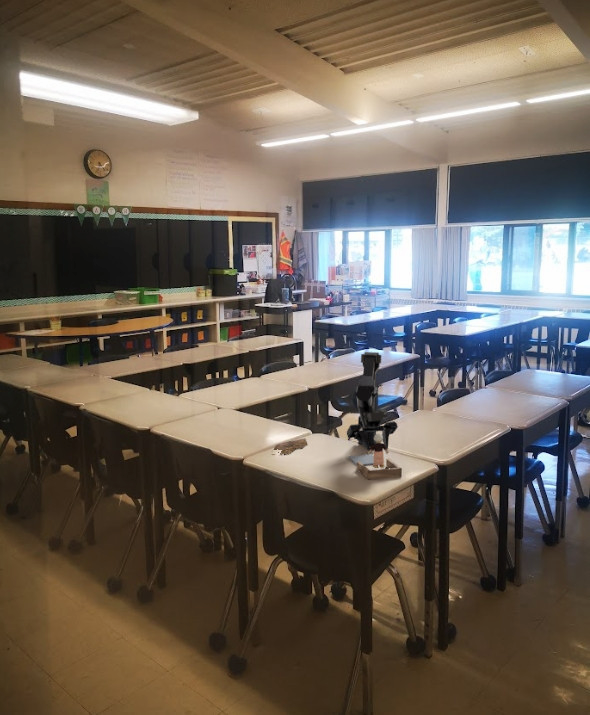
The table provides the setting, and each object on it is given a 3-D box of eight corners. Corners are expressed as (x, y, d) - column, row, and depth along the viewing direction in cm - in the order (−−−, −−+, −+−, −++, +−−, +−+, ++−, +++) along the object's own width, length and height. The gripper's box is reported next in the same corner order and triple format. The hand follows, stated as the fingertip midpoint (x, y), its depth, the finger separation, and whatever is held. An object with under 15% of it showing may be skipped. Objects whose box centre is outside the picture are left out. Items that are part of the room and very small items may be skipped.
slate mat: (347, 457, 237) (347, 456, 237) (371, 455, 240) (371, 454, 240) (357, 466, 228) (357, 464, 227) (381, 463, 230) (381, 462, 230)
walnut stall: (356, 469, 224) (356, 461, 224) (388, 466, 228) (388, 458, 227) (368, 479, 214) (368, 471, 213) (401, 476, 217) (401, 468, 217)
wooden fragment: (283, 458, 237) (283, 455, 237) (261, 452, 243) (261, 450, 243) (318, 442, 258) (318, 439, 258) (297, 437, 264) (297, 435, 264)
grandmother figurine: (384, 463, 225) (385, 431, 223) (389, 467, 222) (390, 434, 219) (365, 466, 223) (366, 433, 221) (370, 469, 219) (371, 436, 217)
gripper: (350, 403, 220) (360, 441, 212) (396, 400, 225) (408, 437, 217) (342, 418, 229) (352, 455, 220) (387, 415, 234) (398, 451, 226)
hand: (378, 449), depth 221 cm, fingers closed on grandmother figurine, 7 cm apart
